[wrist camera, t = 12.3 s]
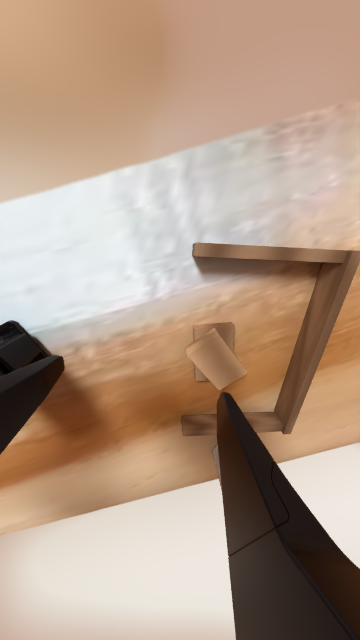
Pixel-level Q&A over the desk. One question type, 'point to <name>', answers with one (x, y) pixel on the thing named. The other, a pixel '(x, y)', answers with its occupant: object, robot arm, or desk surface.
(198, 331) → the offcut lower
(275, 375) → the desk surface
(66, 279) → the desk surface
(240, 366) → the offcut upper
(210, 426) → the wooden frame
